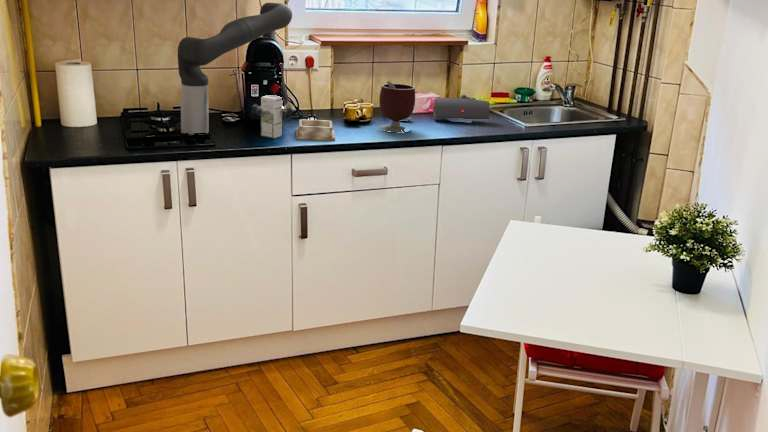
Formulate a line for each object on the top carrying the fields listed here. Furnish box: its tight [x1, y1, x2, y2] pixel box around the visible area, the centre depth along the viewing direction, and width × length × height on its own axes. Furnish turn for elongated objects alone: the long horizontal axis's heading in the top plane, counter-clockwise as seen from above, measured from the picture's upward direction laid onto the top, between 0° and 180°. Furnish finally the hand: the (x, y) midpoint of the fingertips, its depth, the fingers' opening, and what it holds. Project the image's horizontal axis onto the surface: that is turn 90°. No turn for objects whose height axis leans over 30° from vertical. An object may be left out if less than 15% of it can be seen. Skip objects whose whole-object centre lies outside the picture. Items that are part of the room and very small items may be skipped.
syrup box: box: [260, 95, 283, 139], centre depth 276 cm, size 6×6×14 cm
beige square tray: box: [295, 118, 336, 141], centre depth 284 cm, size 14×14×4 cm
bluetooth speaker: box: [433, 97, 491, 120], centre depth 324 cm, size 23×9×10 cm, turn 90°
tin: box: [350, 98, 364, 104], centre depth 314 cm, size 15×3×8 cm, turn 168°
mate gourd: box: [378, 80, 416, 132], centre depth 299 cm, size 16×14×20 cm
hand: (271, 113), depth 275 cm, fingers open, 8 cm apart
